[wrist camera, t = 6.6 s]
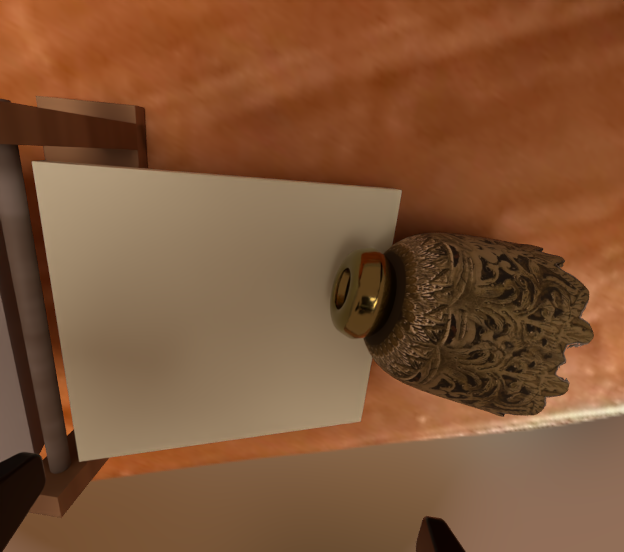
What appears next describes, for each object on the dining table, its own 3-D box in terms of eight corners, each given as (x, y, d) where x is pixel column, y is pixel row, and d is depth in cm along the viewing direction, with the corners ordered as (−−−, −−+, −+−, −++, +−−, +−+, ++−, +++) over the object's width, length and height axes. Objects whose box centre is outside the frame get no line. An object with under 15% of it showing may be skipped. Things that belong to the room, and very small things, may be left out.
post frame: (144, 107, 17) (-27, 65, 9) (160, 403, 23) (63, 530, 15) (49, 98, 18) (-194, 49, 10) (88, 393, 23) (-43, 512, 16)
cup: (301, 341, 18) (436, 367, 20) (338, 431, 11) (546, 460, 12) (341, 196, 17) (480, 239, 18) (414, 190, 10) (628, 260, 11)
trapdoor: (369, 182, 19) (402, 190, 16) (339, 384, 23) (360, 421, 20) (-232, 132, 12) (-380, 128, 9) (-116, 432, 16) (-191, 500, 13)
